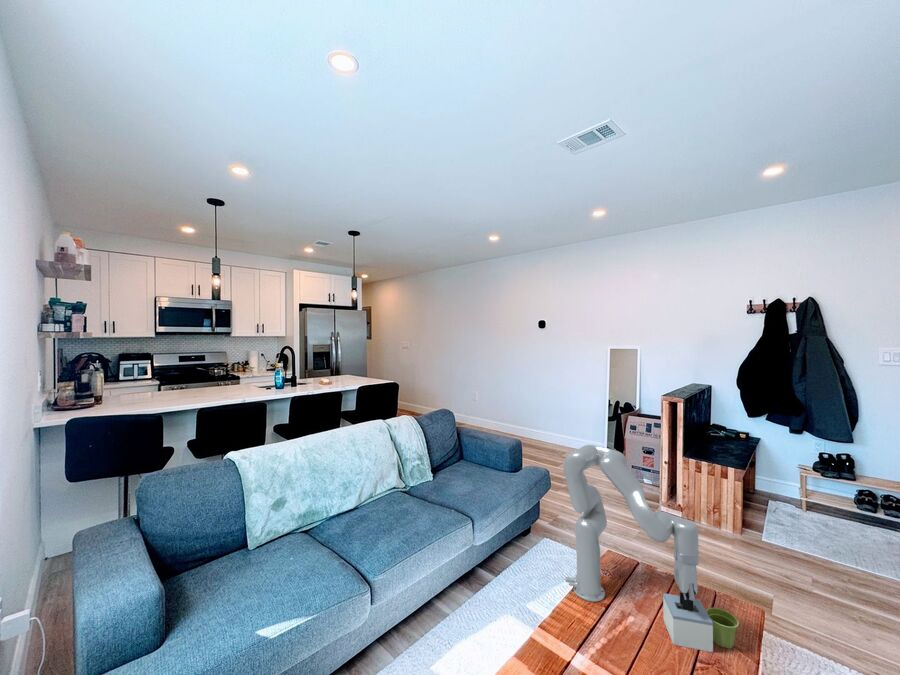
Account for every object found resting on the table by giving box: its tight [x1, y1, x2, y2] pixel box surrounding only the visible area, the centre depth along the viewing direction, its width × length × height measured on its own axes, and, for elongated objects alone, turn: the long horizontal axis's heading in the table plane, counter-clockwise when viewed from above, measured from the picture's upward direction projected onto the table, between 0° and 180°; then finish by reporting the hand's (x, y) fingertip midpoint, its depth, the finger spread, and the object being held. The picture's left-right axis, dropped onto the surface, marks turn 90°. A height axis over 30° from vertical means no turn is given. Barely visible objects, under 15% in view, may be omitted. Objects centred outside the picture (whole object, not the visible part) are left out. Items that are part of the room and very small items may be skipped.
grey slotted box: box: [662, 593, 714, 653], centre depth 132 cm, size 12×12×10 cm
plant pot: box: [705, 607, 740, 649], centre depth 130 cm, size 9×9×9 cm
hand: (686, 606), depth 133 cm, fingers closed on grey slotted box, 2 cm apart
